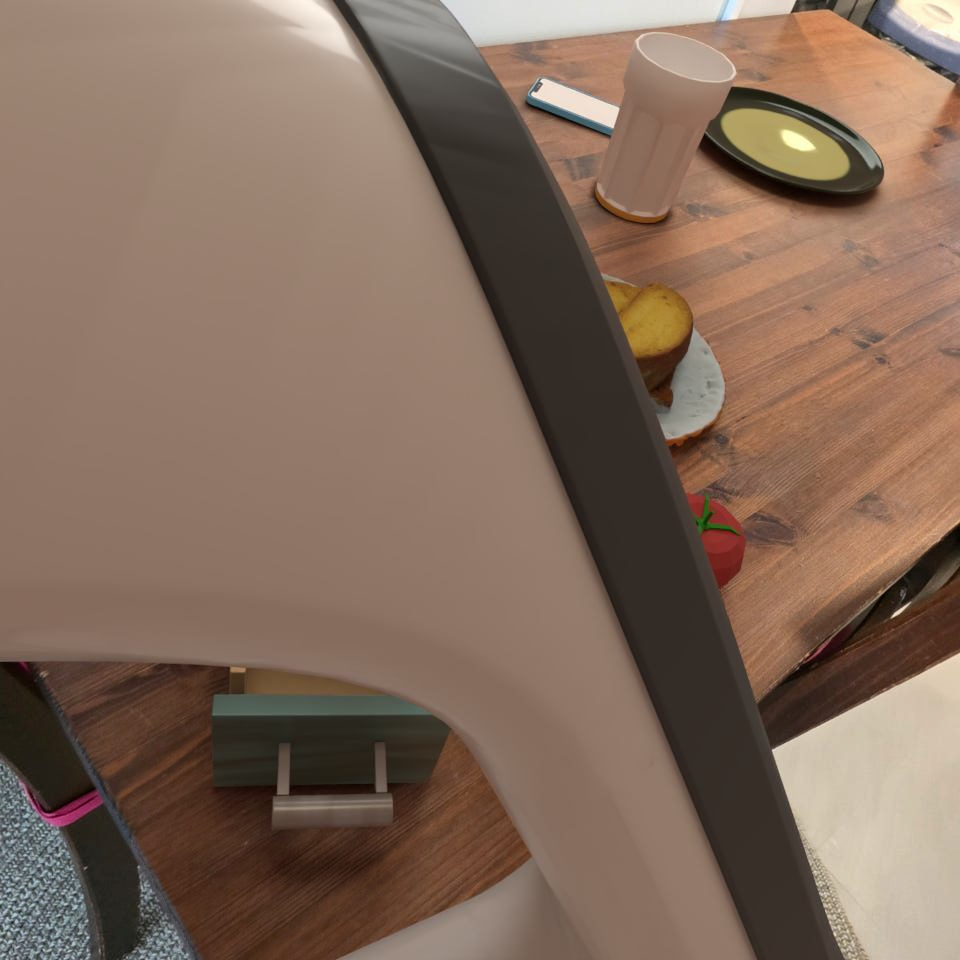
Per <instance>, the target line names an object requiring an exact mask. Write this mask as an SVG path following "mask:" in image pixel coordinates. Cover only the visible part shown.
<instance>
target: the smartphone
mask: <svg viewBox="0 0 960 960" xmlns="http://www.w3.org/2000/svg"><path fill="white" fill-rule="evenodd" d="M525 100H526V103H528V104H529V105H531V106H533V107H537V108H539V109H542V110H545V111H547V112H550V113H552V114H554V115H557V116H559V117H563V118H565V119H567V120H570V121H573V122H575V123H578V124H580V125H583V126H585V127H588V128H589V129H592V130H595V131H598V132H600V133H603V134H606V135H608V136H610V137H611V135H612V132H613V128H614V125H615V122H616V119H617V115H618V112H619V109H620V106H621V105H617V104H614V103H613V102H609V101H608V100H605V99H603V98H599V97H597V96H594V95H591V94H589V93H587V92H585V91H582V90H579V89H576V88H574V87H572V86H569V85H566V84H564V83H562V82H559V81H556V80H554V79H551V78H549V77H544V76H540V77H538V78H537V80H536V81H535V83H534V84H533V85H532V86H531V88H530V90H528V92H527V96H526V98H525Z"/></svg>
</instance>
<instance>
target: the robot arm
mask: <svg viewBox="0 0 960 960" xmlns="http://www.w3.org/2000/svg"><path fill="white" fill-rule="evenodd" d="M455 16H456V15H454V14H453V12H452V11H451V10H450V9H449V8H448V6H446V4H444V3H443V2H442V0H0V663H3V662H4V663H5V662H6V663H9V662H10V663H16V662H17V663H20V662H22V663H23V662H24V663H26V662H27V663H31V662H35V663H38V662H44V663H45V662H46V663H49V662H51V663H52V662H68V663H69V662H70V663H71V662H74V663H75V662H77V663H78V662H81V663H82V662H87V663H88V662H89V663H90V662H107V663H109V662H113V663H139V664H169V665H170V664H172V665H173V664H174V665H176V664H177V665H196V666H197V665H200V666H209V667H210V666H213V667H226V668H230V667H239V668H254V669H268V670H274V671H281V672H288V673H295V674H302V675H309V676H316V677H323V678H330V679H335V680H339V681H343V682H347V683H351V684H355V685H359V686H363V687H366V688H370V689H374V690H378V691H381V692H383V693H386V694H389V695H391V696H394V697H396V698H399V699H401V700H404V701H407V702H409V703H412V704H414V705H417V706H419V707H420V708H422V709H424V710H425V711H427V712H429V713H430V714H432V715H434V716H435V717H437V718H439V719H440V720H442V721H443V722H445V723H446V724H447V725H448V726H449V727H450V728H451V731H453V732H454V733H455V734H456V735H457V736H458V737H459V739H460V741H462V744H464V745H465V747H466V748H467V750H468V751H469V753H470V754H471V756H472V757H473V758H474V760H475V762H476V764H477V765H478V767H479V768H480V770H481V772H482V774H483V775H484V778H485V779H486V781H487V782H488V784H489V786H490V787H491V789H492V791H493V793H494V795H495V796H496V798H497V799H498V801H499V803H500V804H501V806H502V808H503V810H504V812H505V813H506V815H507V816H508V819H510V822H511V823H512V825H513V827H514V828H515V830H516V831H517V833H518V835H519V837H520V838H521V840H522V842H523V845H525V847H526V849H527V850H528V853H529V854H530V856H531V857H529V859H527V860H526V861H525V862H524V863H523V864H522V865H520V866H519V867H518V868H516V870H514V871H512V872H511V873H510V874H509V875H507V876H506V877H505V878H503V879H502V880H500V881H499V882H497V883H495V884H493V885H492V886H490V887H488V888H487V889H486V890H484V891H482V892H480V893H479V894H477V895H475V896H472V897H470V898H468V899H466V900H464V901H462V902H460V903H458V904H455V905H453V906H450V907H448V908H446V909H444V910H442V911H439V912H438V913H435V914H432V915H431V916H428V917H426V918H424V919H422V920H419V921H418V922H416V923H413V924H411V925H409V926H407V927H405V928H402V929H400V930H397V931H395V932H393V933H392V934H390V935H387V936H385V937H382V938H380V939H378V940H376V941H374V942H371V943H369V944H368V945H365V946H363V947H361V948H358V949H356V950H354V951H351V952H350V953H347V954H345V955H343V956H341V957H338V958H336V959H335V960H846V958H845V956H844V954H843V952H842V950H841V948H840V945H839V943H838V941H837V939H836V936H835V934H834V931H833V929H832V926H831V924H830V921H829V917H828V915H827V912H826V909H825V906H824V902H823V900H822V897H821V894H820V891H819V888H818V887H817V883H816V879H815V877H814V873H813V871H812V867H811V864H810V861H809V858H808V854H807V852H806V849H805V845H804V842H803V840H802V837H801V834H800V831H799V827H798V825H797V822H796V819H795V816H794V813H793V810H792V807H791V804H790V801H789V798H788V795H787V792H786V789H785V786H784V782H783V779H782V777H781V774H780V770H779V768H778V765H777V760H776V757H775V755H774V753H773V749H772V746H771V744H770V740H769V737H768V735H767V731H766V729H765V725H764V722H763V718H762V715H761V712H760V709H759V706H758V704H757V700H756V697H755V694H754V691H753V688H752V685H751V681H750V680H749V676H748V673H747V670H746V666H745V663H744V660H743V657H742V654H741V651H740V648H739V645H738V641H737V639H736V636H735V635H736V634H735V633H734V629H733V627H732V623H731V620H730V618H729V615H728V612H727V608H726V606H725V602H724V600H723V596H722V593H721V591H720V589H719V587H718V584H717V581H716V578H715V575H714V573H713V570H712V567H711V564H710V561H709V558H708V555H707V553H706V550H705V547H704V544H703V541H702V538H701V535H700V533H699V530H698V527H697V524H696V521H695V518H694V515H693V513H692V510H691V507H690V504H689V501H688V499H687V496H686V493H687V492H686V491H685V487H684V485H683V483H682V480H681V477H680V475H679V472H678V469H677V466H676V463H675V461H674V457H673V455H672V452H671V449H670V446H668V444H667V441H666V439H665V436H664V433H663V431H662V428H661V425H660V423H659V420H658V417H657V415H656V412H655V409H654V407H653V404H652V401H651V399H650V396H649V393H648V391H647V388H646V385H645V383H644V380H643V378H642V375H641V372H640V370H639V367H638V365H637V362H636V359H635V357H634V354H633V352H632V349H631V346H630V344H629V341H628V339H627V336H626V334H625V331H624V329H623V326H622V324H621V321H620V319H619V316H618V314H617V311H616V309H615V306H614V304H613V301H612V299H611V297H610V294H609V292H608V290H607V287H606V285H605V282H604V280H603V278H602V275H601V273H602V272H601V270H600V268H599V266H598V263H597V261H596V259H595V256H594V255H593V252H592V250H591V247H590V246H589V243H588V241H587V239H586V236H585V234H584V232H583V229H582V228H581V225H580V224H579V221H578V220H577V217H576V215H575V213H574V211H573V209H572V207H571V205H570V203H569V202H568V201H569V200H568V199H567V197H566V194H565V193H564V191H563V189H562V188H561V185H560V184H559V181H558V180H557V177H556V176H555V175H554V173H553V170H552V169H551V167H550V165H549V164H548V161H547V160H546V158H545V156H544V154H543V152H542V150H541V148H540V146H539V144H538V143H537V141H536V139H535V138H534V135H533V133H532V131H531V129H530V128H529V126H528V125H527V123H526V121H525V119H524V118H523V116H522V114H521V113H520V111H519V109H518V108H517V106H516V104H515V102H514V100H513V99H512V98H511V97H510V95H509V93H508V91H507V90H506V89H505V87H504V86H503V84H502V83H501V81H500V80H499V78H498V77H497V75H496V74H495V72H494V70H493V69H492V67H491V66H490V65H489V63H488V62H487V60H486V59H485V57H484V56H483V55H482V53H481V51H480V49H479V48H478V47H477V46H476V44H475V42H474V41H473V39H472V38H471V37H470V35H469V33H468V31H467V30H466V29H465V28H464V27H463V25H462V24H461V22H459V20H458V19H457V18H456V17H455Z"/></svg>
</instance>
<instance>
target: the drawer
mask: <svg viewBox="0 0 960 960" xmlns="http://www.w3.org/2000/svg"><path fill="white" fill-rule="evenodd" d="M211 703H212V704H211V713H210V719H211V720H210V721H211V723H210V724H211V759H212V760H211V765H212V767H211V768H212V769H211V770H212V773H211V774H212V787H213V788H219V787H221V788H222V787H261V786H262V787H267V786H270V787H271V786H276V795H274V796H272V802H271V817H270V818H271V819H270V829H271V831H284V830H285V831H287V830H288V831H289V830H316V829H320V830H321V829H345V828H346V829H348V828H349V829H350V828H375V827H376V828H377V827H379V828H380V827H381V828H382V827H391V826H392V825H393V821H394V798H393V797H394V796H393V794H392V793H391V792H388V784H398V783H399V784H404V783H406V784H407V783H411V784H412V783H430V780H431V778H432V776H433V774H434V772H435V769H436V766H437V764H438V762H439V760H440V757H441V754H442V752H443V750H444V747H445V745H446V742H447V740H448V738H449V736H450V733H451V732H452V729H451V728H450V727H449V726H448V725H447V724H446V723H445V722H443V721H442V720H440V719H439V718H437V717H435V716H434V715H432V714H430V713H429V712H427V711H425V710H424V709H422V708H420V707H419V706H417V705H414V704H412V703H409V702H407V701H404V700H401V699H399V698H396V697H394V696H391V695H389V694H386V693H383V692H381V691H378V690H374V689H370V688H366V687H363V686H359V685H355V684H351V683H347V682H343V681H339V680H335V679H330V678H323V677H316V676H309V675H302V674H295V673H288V672H281V671H274V670H268V669H254V668H239V667H229V691H228V693H227V694H224V693H223V694H219V693H217V694H213V695H212V701H211ZM362 784H364V785H365V784H373V786H374V788H373V790H374V793H341V794H339V793H338V794H306V795H305V794H303V795H302V794H300V795H299V794H297V795H295V794H294V795H290V786H308V785H309V786H313V785H319V786H320V785H362Z"/></svg>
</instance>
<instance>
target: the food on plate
mask: <svg viewBox="0 0 960 960" xmlns="http://www.w3.org/2000/svg"><path fill="white" fill-rule="evenodd" d="M600 273H601V275H602V278H603V280H604V282H605V285H606V287H607V290H608V292H609V294H610V297H611V299H612V301H613V304H614V306H615V309H616V311H617V314H618V316H619V319H620V321H621V324H622V326H623V329H624V331H625V334H626V336H627V339H628V341H629V344H630V346H631V349H632V352H633V354H634V357H635V359H636V362H637V365H638V367H639V370H640V372H641V375H642V378H643V380H644V383H645V385H646V388H647V391H648V393H649V396H650V399H651V401H652V404H653V407H654V409H655V412H656V415H657V417H658V420H659V423H660V425H661V428H662V431H663V433H664V436H665V439H666V441H667V444H668V447H671V446H673V445H674V444H675V445H676V446H677V447H680V446H682V445H684V442H685V441H687V440H688V438H689V437H693V438H696V437H697V436H698V435H700V434H701V433H702V431H703V430H704V429H705V430H707V429H708V427H710V426H712V425H713V424H715V423H717V421H718V419H720V415H721V414H722V413H723V412H722V411H723V407H724V406H725V403H726V400H727V397H726V393H727V389H726V386H727V385H726V382H727V380H726V377H725V376H724V375H723V373H722V370H721V362H720V361H718V360H717V358H718V357H717V355H716V354H715V353H714V351H713V349H712V348H711V345H710V342H709V340H707V338H703V337H702V336H701V335H700V333H699V332H698V331H697V328H695V326H694V314H693V312H692V308H691V307H690V305H689V303H688V302H687V300H686V298H684V297H683V296H682V295H681V294H680V293H678V292H677V290H674V289H673V288H670V287H668V286H666V285H664V283H660V282H651V283H648V284H646V286H644V287H643V288H642V287H638V286H636V285H635V284H633V283H629V282H626V281H624V280H623V279H621V278H619V277H613V276H611V275H608V274H606V273H602V272H600Z"/></svg>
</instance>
